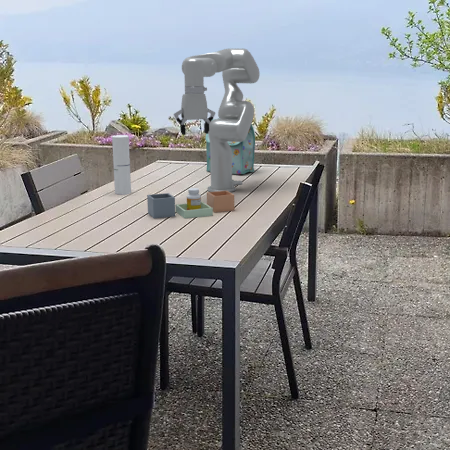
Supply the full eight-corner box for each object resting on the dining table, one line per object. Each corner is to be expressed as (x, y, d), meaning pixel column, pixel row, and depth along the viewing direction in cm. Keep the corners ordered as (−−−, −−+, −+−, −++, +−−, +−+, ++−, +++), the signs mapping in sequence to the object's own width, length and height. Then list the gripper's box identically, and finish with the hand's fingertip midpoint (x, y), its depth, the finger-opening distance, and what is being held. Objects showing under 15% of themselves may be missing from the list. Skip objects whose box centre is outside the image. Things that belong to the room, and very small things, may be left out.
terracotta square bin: (226, 207, 271) (226, 190, 269) (234, 212, 263) (234, 194, 261) (206, 209, 268) (206, 192, 266) (214, 214, 260) (214, 196, 258)
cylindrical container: (128, 194, 295) (125, 137, 288) (112, 194, 296) (109, 137, 290) (133, 191, 302) (131, 135, 295) (118, 190, 303) (115, 135, 297)
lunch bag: (202, 172, 345) (202, 119, 338) (219, 167, 358) (219, 116, 351) (241, 176, 333) (241, 121, 326) (257, 171, 347) (258, 118, 340)
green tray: (203, 210, 266) (202, 202, 265) (212, 217, 255) (212, 208, 254) (175, 213, 262) (175, 204, 261) (184, 220, 252) (184, 210, 251)
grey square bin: (169, 213, 262) (168, 193, 260) (175, 218, 255) (174, 197, 253) (147, 215, 259) (147, 194, 257) (153, 220, 252) (153, 199, 250)
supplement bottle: (186, 212, 261) (186, 187, 258) (200, 212, 261) (200, 187, 259) (187, 215, 256) (186, 190, 253) (201, 215, 256) (201, 190, 254)
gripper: (211, 89, 275) (212, 131, 279) (170, 90, 269) (171, 133, 273) (217, 90, 268) (218, 133, 273) (176, 92, 262) (177, 136, 267)
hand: (195, 133), depth 273 cm, fingers open, 9 cm apart
